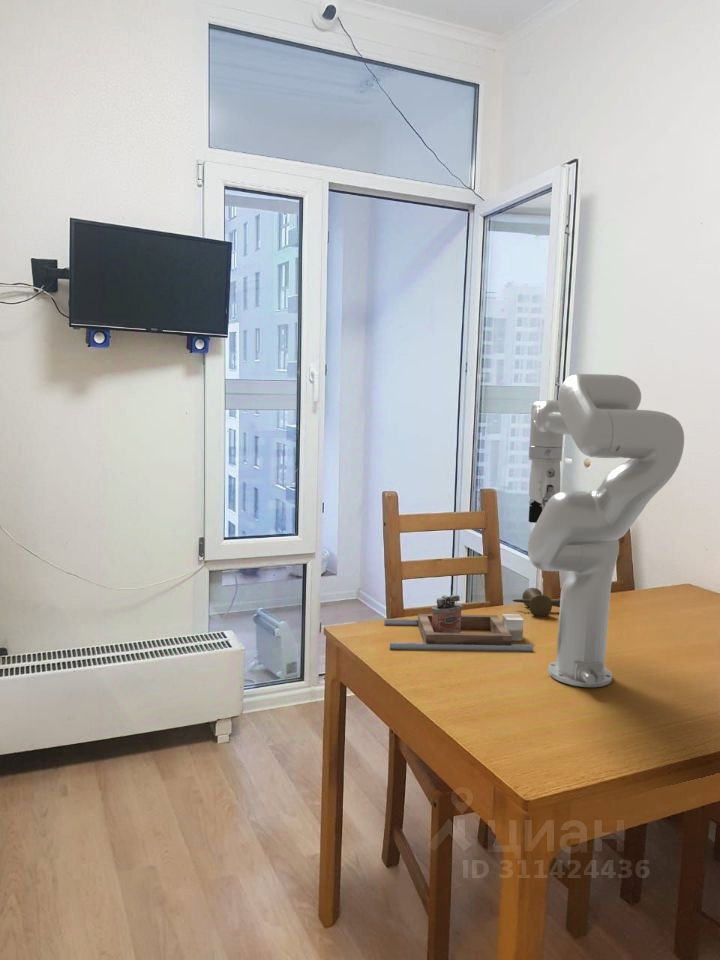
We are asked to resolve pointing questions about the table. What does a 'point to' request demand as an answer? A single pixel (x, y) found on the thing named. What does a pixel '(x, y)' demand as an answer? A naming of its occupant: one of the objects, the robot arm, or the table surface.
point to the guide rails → (451, 645)
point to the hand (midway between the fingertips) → (540, 526)
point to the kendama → (538, 602)
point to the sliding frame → (500, 630)
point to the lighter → (447, 615)
